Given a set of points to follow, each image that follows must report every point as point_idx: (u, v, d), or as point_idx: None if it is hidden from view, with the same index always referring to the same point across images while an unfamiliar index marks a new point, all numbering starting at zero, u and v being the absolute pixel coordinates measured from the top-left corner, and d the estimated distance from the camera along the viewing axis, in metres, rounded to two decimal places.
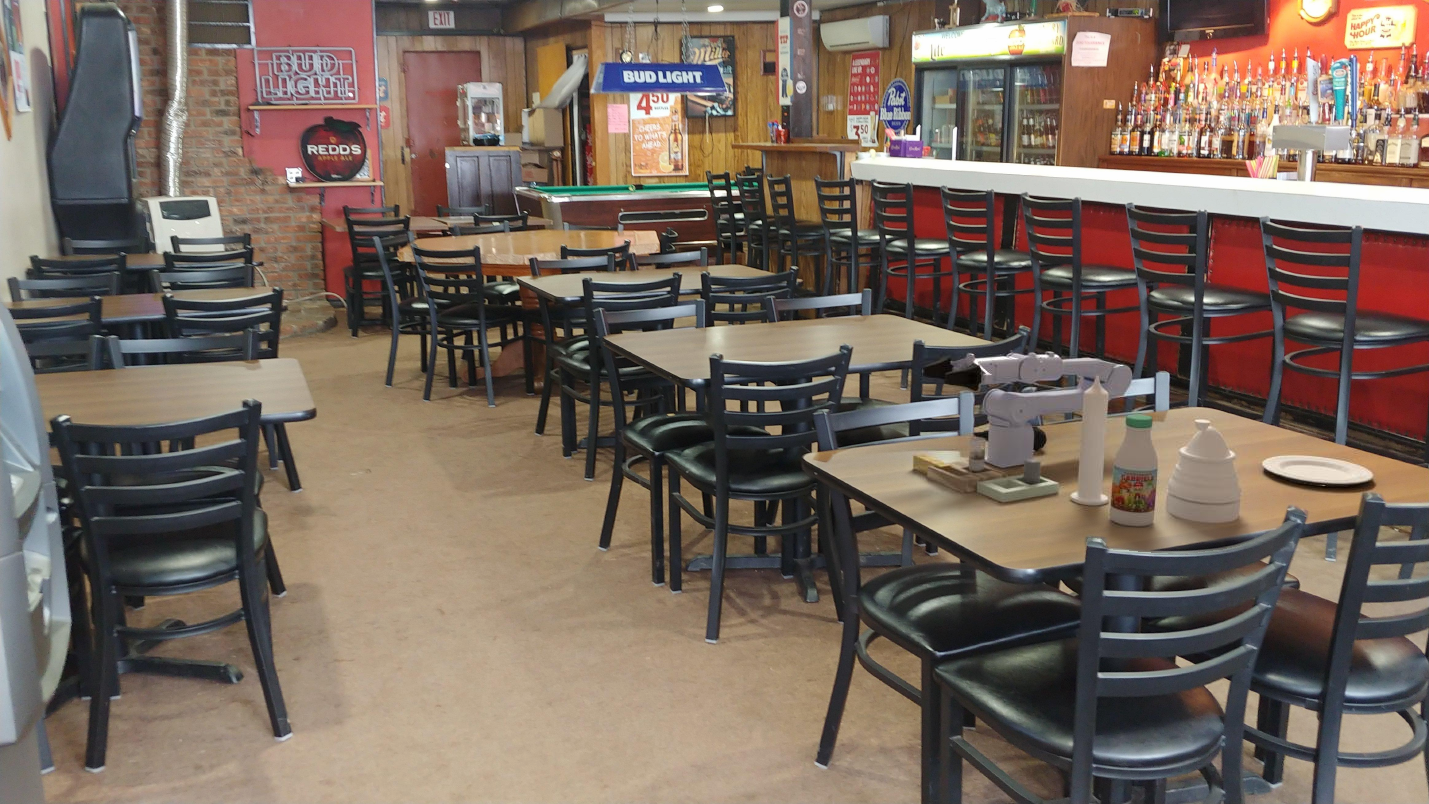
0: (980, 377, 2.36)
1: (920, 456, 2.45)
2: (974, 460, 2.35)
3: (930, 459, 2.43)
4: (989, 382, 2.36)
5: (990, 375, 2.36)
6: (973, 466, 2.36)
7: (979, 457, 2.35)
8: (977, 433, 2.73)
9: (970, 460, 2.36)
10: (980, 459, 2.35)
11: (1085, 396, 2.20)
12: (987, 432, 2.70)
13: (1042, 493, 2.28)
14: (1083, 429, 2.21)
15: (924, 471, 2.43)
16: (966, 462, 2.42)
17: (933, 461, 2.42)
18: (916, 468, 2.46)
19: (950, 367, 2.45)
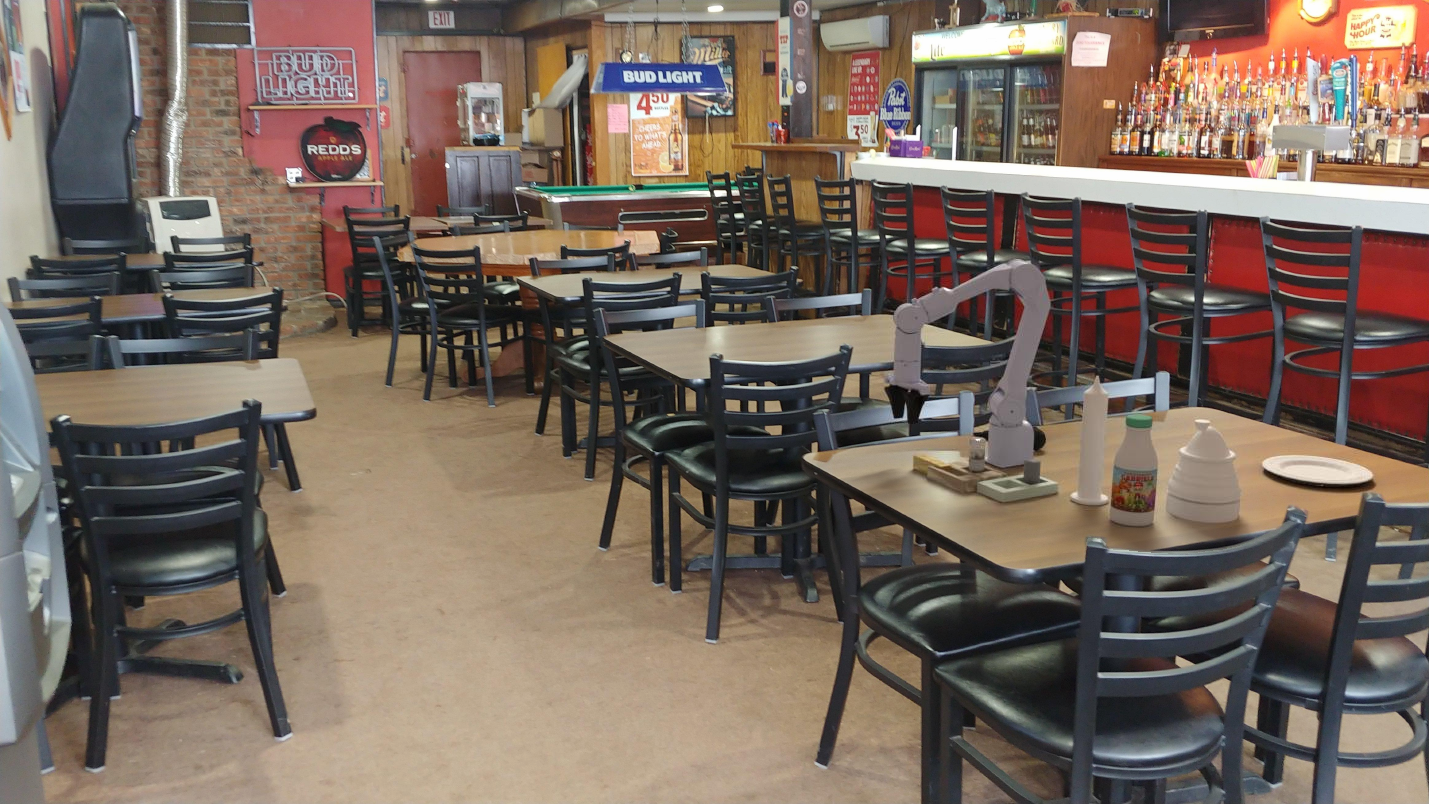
0: (919, 393, 2.44)
1: (920, 456, 2.45)
2: (974, 460, 2.35)
3: (930, 459, 2.43)
4: (929, 388, 2.42)
5: (923, 388, 2.41)
6: (973, 466, 2.36)
7: (979, 457, 2.35)
8: (977, 433, 2.73)
9: (970, 460, 2.36)
10: (980, 459, 2.35)
11: (1085, 396, 2.20)
12: (987, 432, 2.70)
13: (1042, 493, 2.28)
14: (1083, 429, 2.21)
15: (924, 471, 2.43)
16: (966, 462, 2.42)
17: (933, 461, 2.42)
18: (916, 468, 2.46)
19: (897, 388, 2.51)
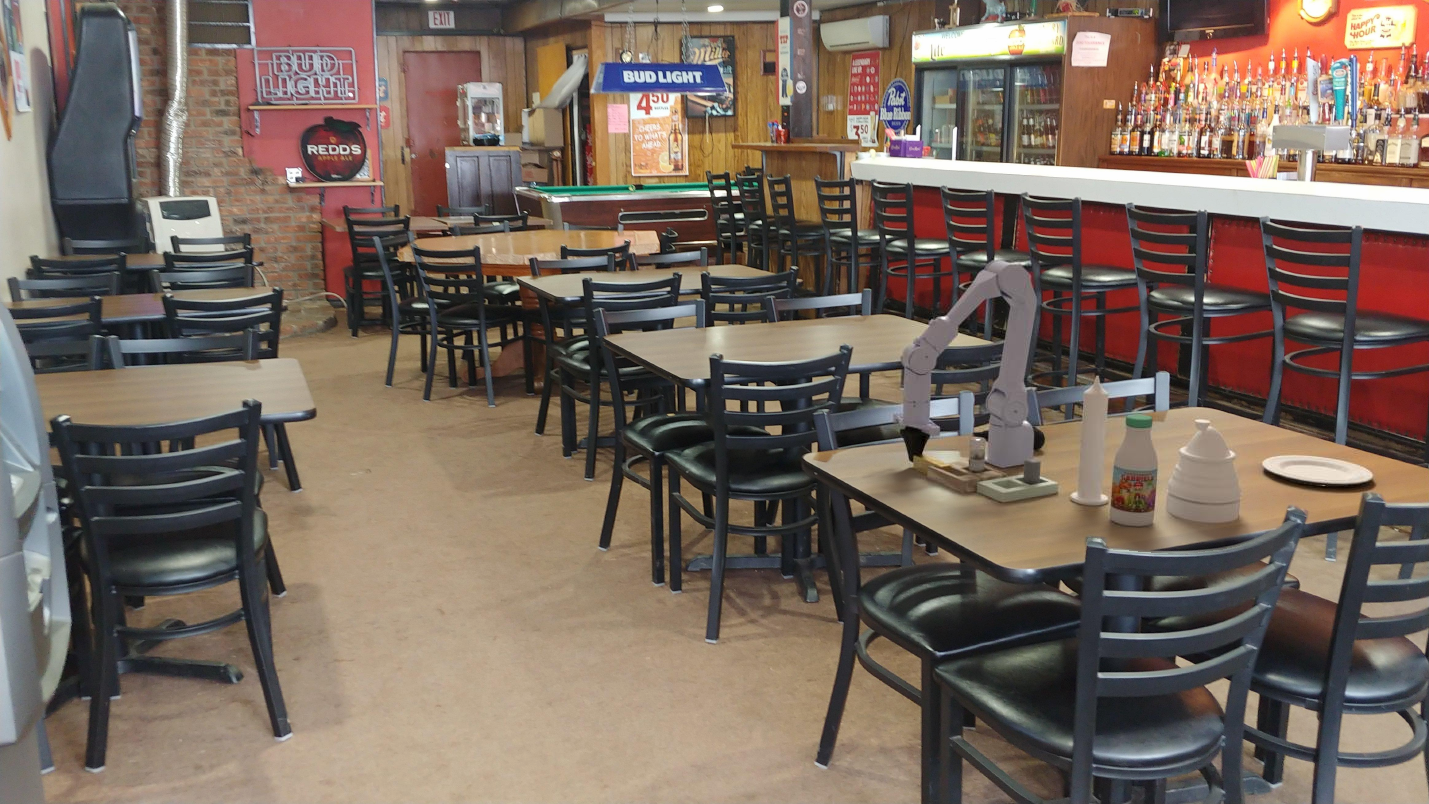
0: (921, 432, 2.44)
1: (920, 456, 2.45)
2: (974, 460, 2.35)
3: (930, 459, 2.43)
4: (938, 429, 2.40)
5: (933, 430, 2.40)
6: (973, 466, 2.36)
7: (979, 457, 2.35)
8: (976, 433, 2.73)
9: (970, 460, 2.36)
10: (980, 459, 2.35)
11: (1085, 396, 2.20)
12: (986, 432, 2.70)
13: (1042, 493, 2.28)
14: (1083, 429, 2.21)
15: (924, 471, 2.43)
16: (966, 462, 2.42)
17: (933, 461, 2.42)
18: (916, 468, 2.46)
19: None
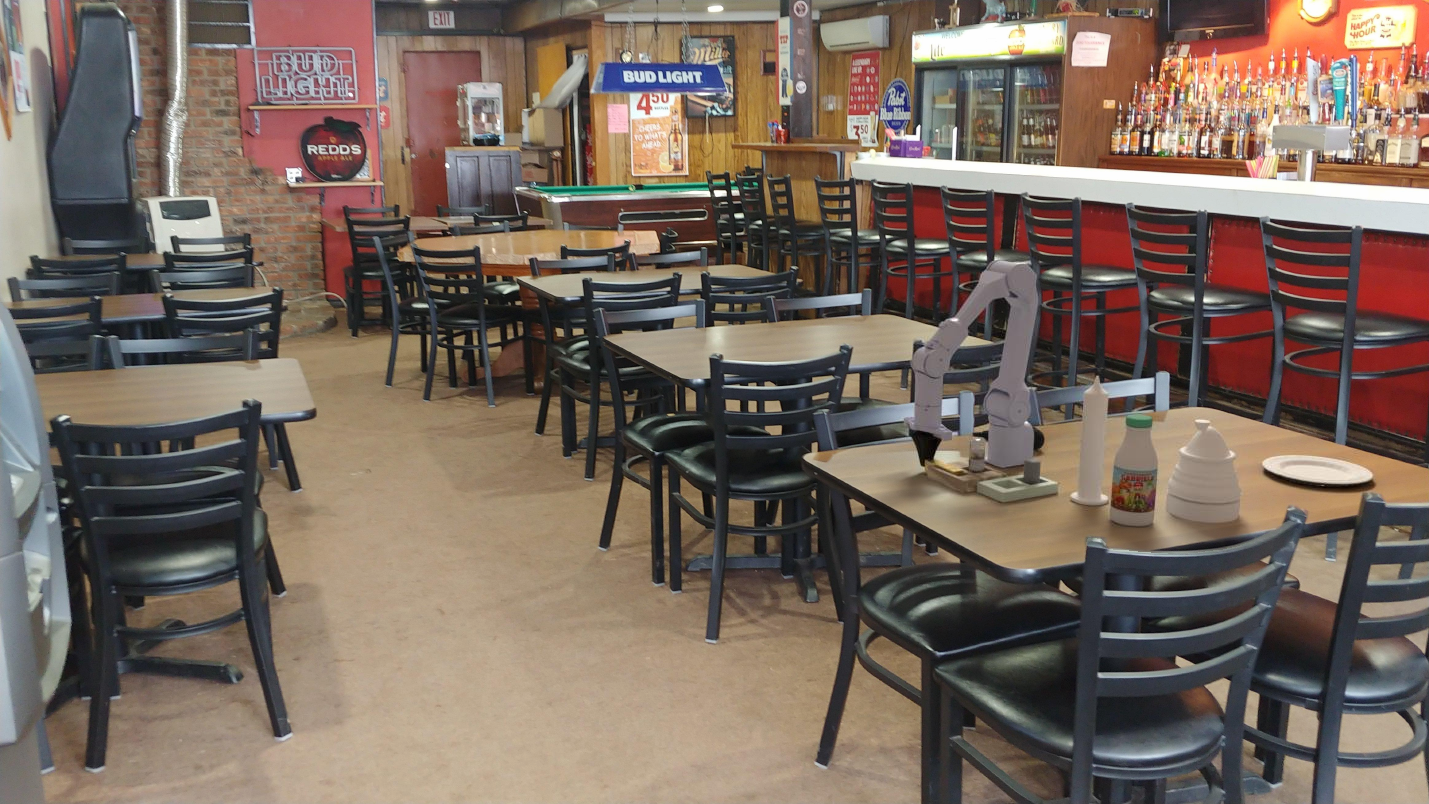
0: (933, 436, 2.41)
1: (932, 461, 2.42)
2: (974, 460, 2.36)
3: (942, 464, 2.39)
4: (951, 434, 2.37)
5: (945, 434, 2.36)
6: (973, 466, 2.36)
7: (979, 457, 2.35)
8: (976, 433, 2.73)
9: (970, 460, 2.36)
10: (980, 459, 2.35)
11: (1085, 396, 2.20)
12: (986, 432, 2.70)
13: (1042, 493, 2.28)
14: (1083, 429, 2.21)
15: None
16: (966, 462, 2.42)
17: (945, 466, 2.38)
18: None
19: None
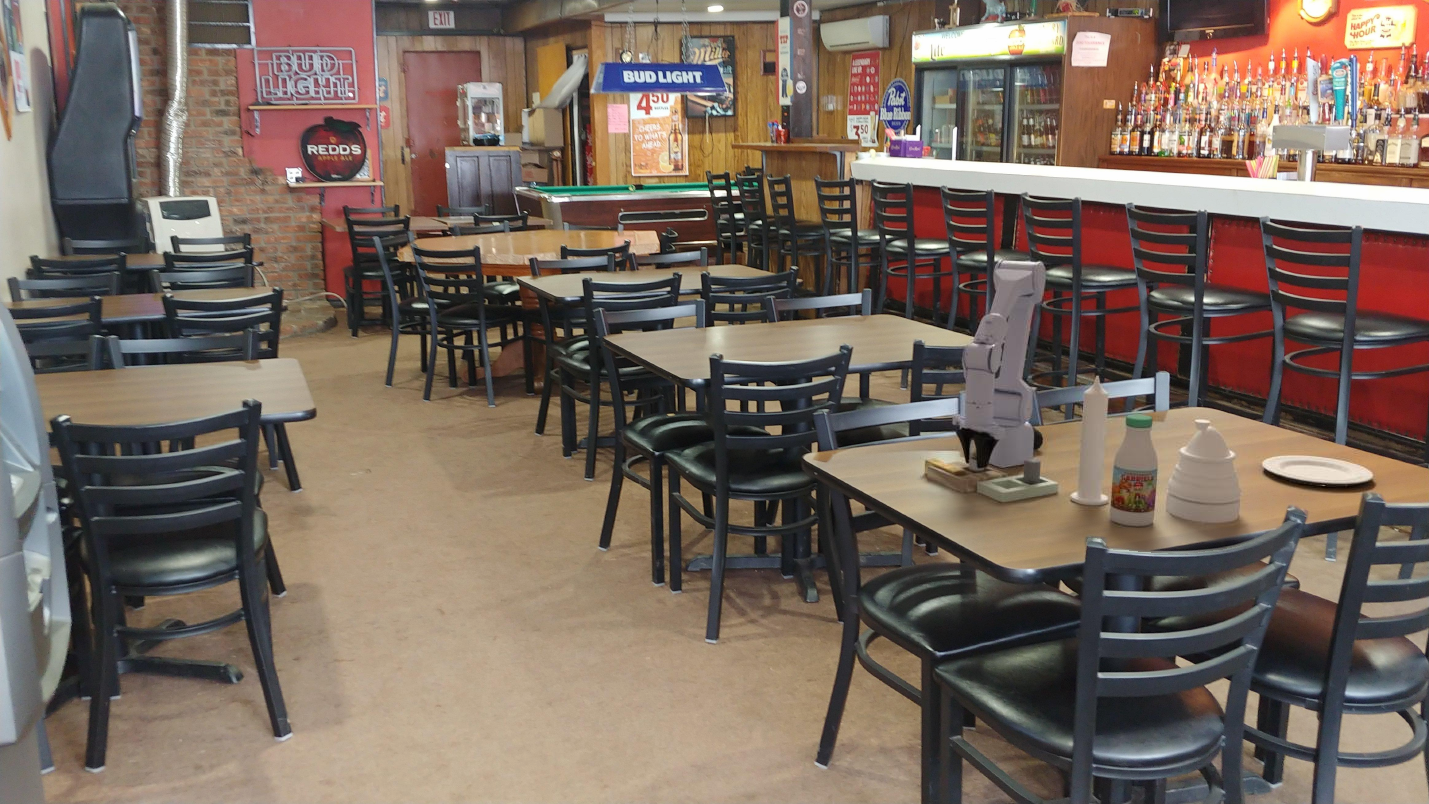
0: (990, 437, 2.32)
1: (932, 461, 2.42)
2: (974, 460, 2.35)
3: (942, 464, 2.39)
4: (1004, 432, 2.29)
5: (998, 432, 2.29)
6: (974, 466, 2.36)
7: None
8: None
9: (970, 460, 2.36)
10: None
11: (1085, 396, 2.20)
12: None
13: (1042, 493, 2.28)
14: (1083, 429, 2.21)
15: None
16: None
17: (945, 466, 2.38)
18: None
19: (970, 432, 2.37)
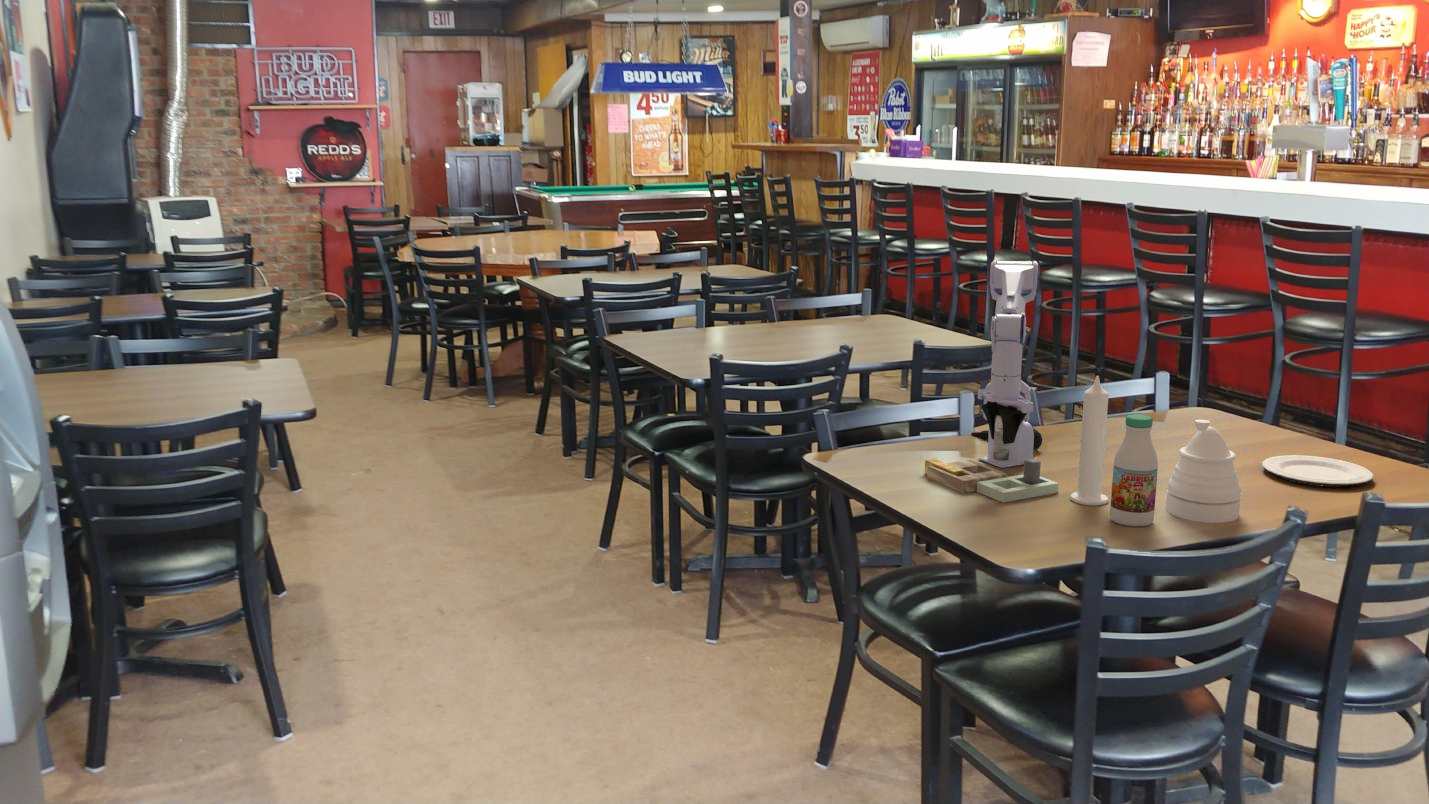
0: (1017, 410, 2.23)
1: (932, 461, 2.42)
2: (999, 436, 2.27)
3: (942, 464, 2.39)
4: (1032, 405, 2.21)
5: (1025, 405, 2.20)
6: (999, 443, 2.27)
7: None
8: (975, 433, 2.73)
9: (995, 437, 2.28)
10: None
11: (1085, 396, 2.20)
12: (984, 432, 2.70)
13: (1042, 493, 2.28)
14: (1083, 429, 2.21)
15: None
16: (966, 462, 2.42)
17: (945, 466, 2.38)
18: None
19: (996, 406, 2.28)
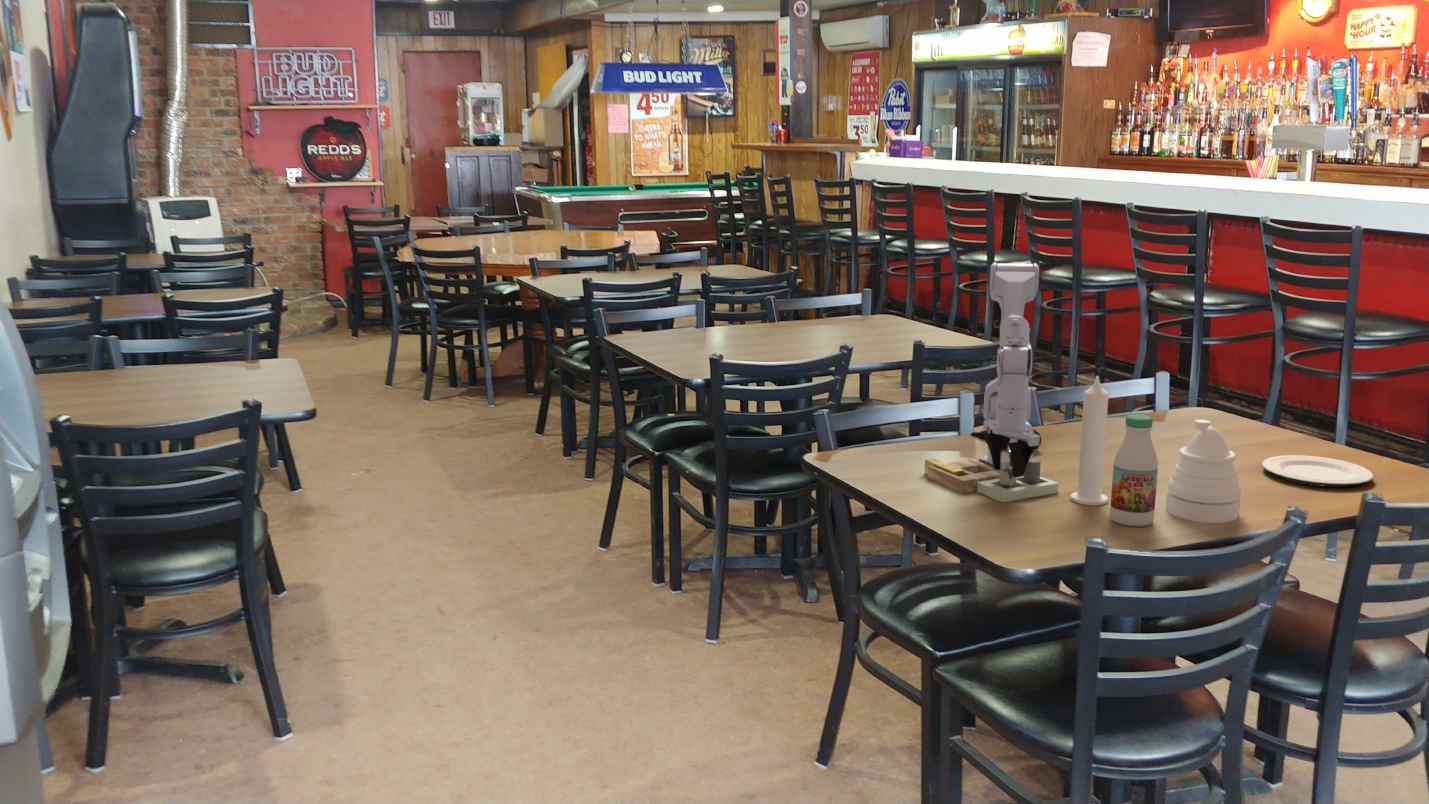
0: (1027, 444, 2.22)
1: (932, 461, 2.42)
2: (1005, 472, 2.27)
3: (942, 464, 2.39)
4: (1038, 438, 2.20)
5: (1032, 439, 2.20)
6: (1005, 479, 2.27)
7: (1011, 469, 2.26)
8: (974, 433, 2.73)
9: (1001, 472, 2.27)
10: (1011, 472, 2.26)
11: (1085, 396, 2.20)
12: (984, 432, 2.70)
13: (1042, 493, 2.28)
14: (1083, 429, 2.21)
15: None
16: (966, 462, 2.42)
17: (945, 466, 2.38)
18: None
19: (999, 437, 2.29)
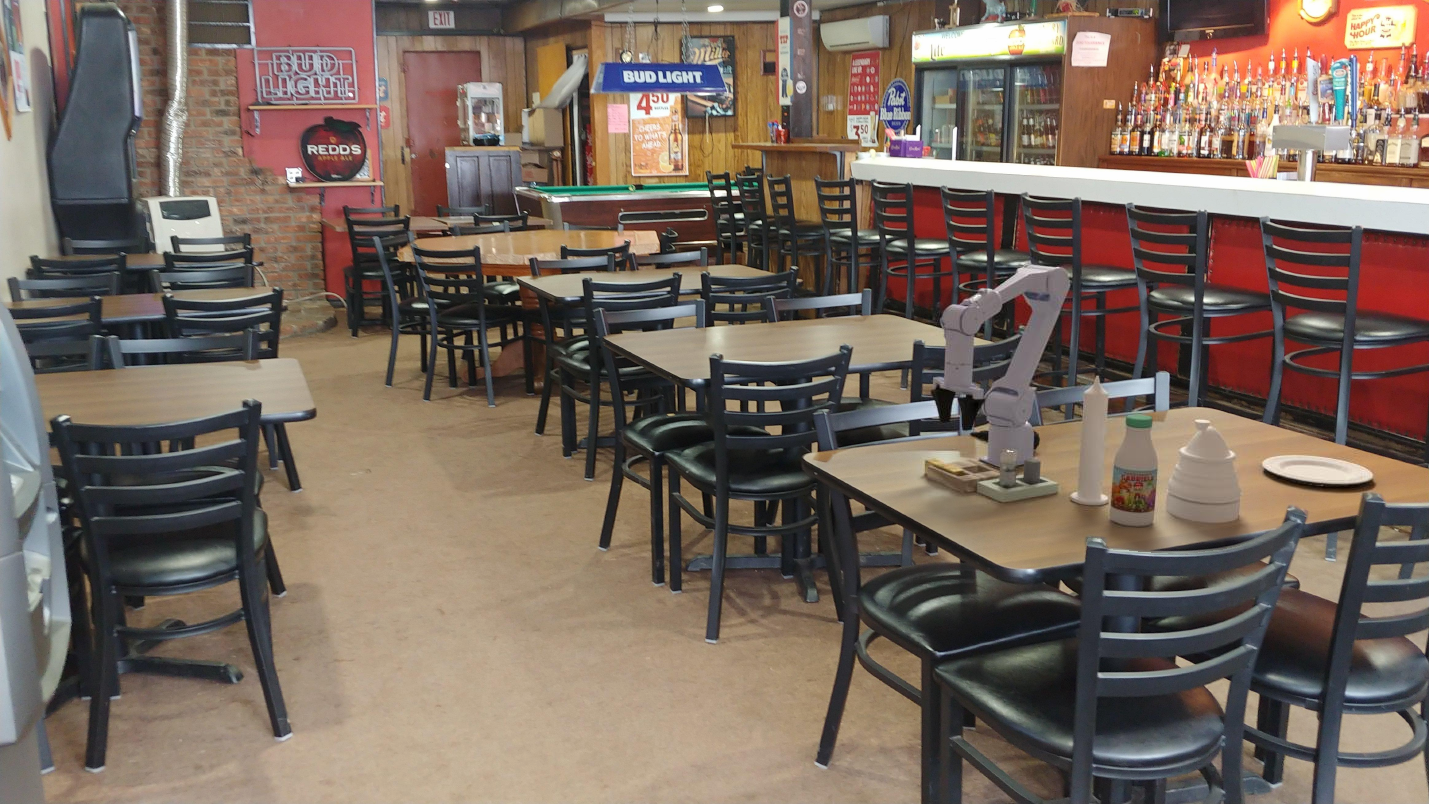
0: (974, 399, 2.34)
1: (932, 461, 2.42)
2: (1005, 472, 2.27)
3: (942, 464, 2.39)
4: (982, 392, 2.33)
5: (976, 392, 2.32)
6: (1005, 479, 2.27)
7: (1011, 469, 2.26)
8: (974, 433, 2.73)
9: (1001, 472, 2.27)
10: (1011, 472, 2.26)
11: (1085, 396, 2.20)
12: (983, 432, 2.70)
13: (1042, 493, 2.28)
14: (1083, 429, 2.21)
15: None
16: (966, 462, 2.42)
17: (945, 466, 2.38)
18: None
19: (944, 391, 2.43)
